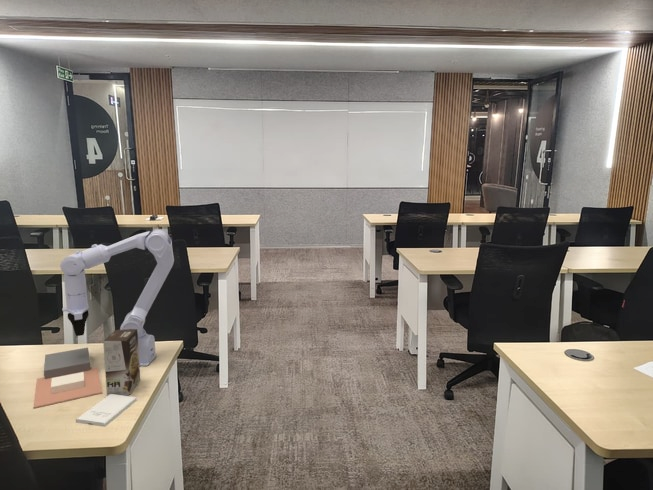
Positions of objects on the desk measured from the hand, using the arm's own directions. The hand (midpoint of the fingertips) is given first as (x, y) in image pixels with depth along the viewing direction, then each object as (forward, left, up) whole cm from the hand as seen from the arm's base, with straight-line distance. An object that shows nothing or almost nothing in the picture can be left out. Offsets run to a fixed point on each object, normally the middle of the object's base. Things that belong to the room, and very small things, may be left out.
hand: (79, 334), depth 136 cm
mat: (-3, +13, -10) cm, 17 cm away
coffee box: (-19, +14, -11) cm, 26 cm away
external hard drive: (-20, +26, -11) cm, 35 cm away
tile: (-3, +13, -8) cm, 16 cm away
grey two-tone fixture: (+4, +1, -10) cm, 11 cm away
